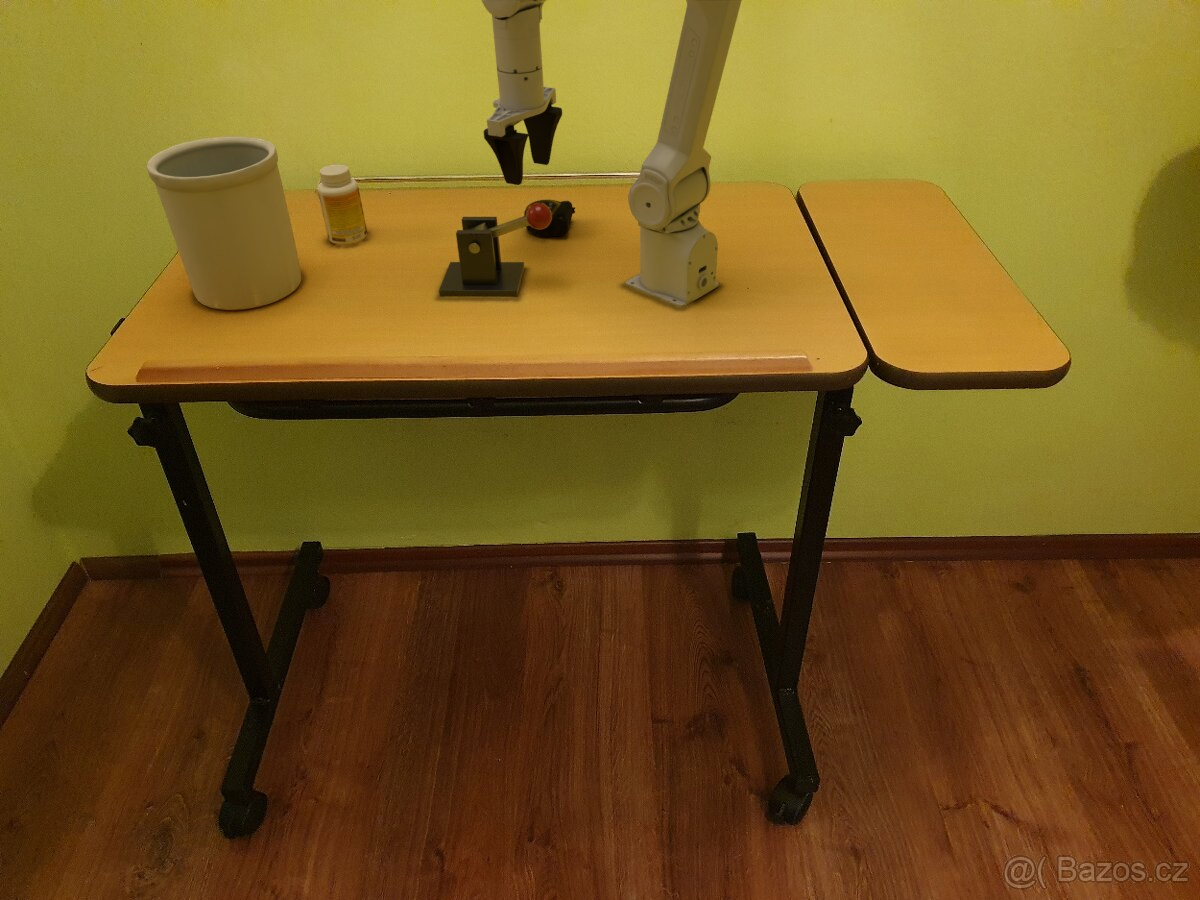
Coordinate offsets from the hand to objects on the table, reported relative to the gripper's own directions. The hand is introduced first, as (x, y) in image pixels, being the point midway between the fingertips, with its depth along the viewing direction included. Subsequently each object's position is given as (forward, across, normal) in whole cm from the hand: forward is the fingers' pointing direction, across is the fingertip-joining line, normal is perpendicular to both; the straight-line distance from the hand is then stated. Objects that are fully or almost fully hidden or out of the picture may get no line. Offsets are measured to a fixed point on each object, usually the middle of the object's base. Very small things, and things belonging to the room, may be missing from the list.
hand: (527, 173), depth 121 cm
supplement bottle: (+10, +9, -26) cm, 29 cm away
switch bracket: (+10, +13, 0) cm, 17 cm away
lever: (+4, +12, +4) cm, 13 cm away
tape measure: (+10, -5, +1) cm, 11 cm away
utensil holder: (+10, +26, -29) cm, 40 cm away
